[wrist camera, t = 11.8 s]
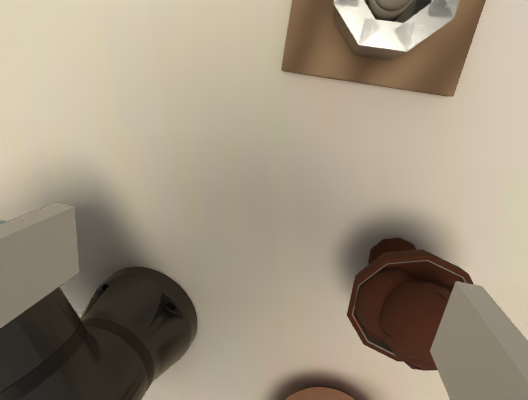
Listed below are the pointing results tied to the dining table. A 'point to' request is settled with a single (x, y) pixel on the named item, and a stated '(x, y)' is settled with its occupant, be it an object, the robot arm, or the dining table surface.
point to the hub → (389, 27)
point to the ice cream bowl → (402, 301)
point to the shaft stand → (378, 69)
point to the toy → (319, 394)
